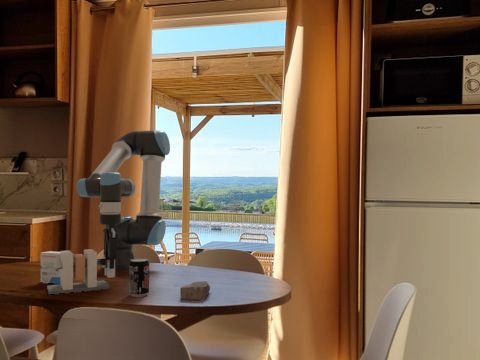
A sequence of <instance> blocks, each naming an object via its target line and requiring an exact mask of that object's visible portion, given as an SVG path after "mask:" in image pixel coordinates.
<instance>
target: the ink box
mask: <svg viewBox="0 0 480 360" xmlns="http://www.w3.org/2000/svg"><path fill="white" fill-rule="evenodd" d="M60 263H61V251H51V250H50V251H43V252H40V278H39V279H40V282H43V283H42V284H48V283H54V284H53V285H60V279H61V267H60ZM40 282H39V283H40Z"/></svg>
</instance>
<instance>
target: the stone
mask: <svg viewBox="0 0 480 360" xmlns="http://www.w3.org/2000/svg"><path fill="white" fill-rule="evenodd" d="M210 290H211V286H210V284H209V282H208V281H205V280H204V281H196V282H195V281H193V282H191V283H190V284H186V285H182V286H181V287H180V291H179V293H180V298H181V299H182V300H194V301H203V300H205V298H206V297H207V296H208V295H209V292H210ZM206 295H207V296H206Z"/></svg>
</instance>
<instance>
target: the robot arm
mask: <svg viewBox="0 0 480 360" xmlns="http://www.w3.org/2000/svg"><path fill="white" fill-rule="evenodd" d="M169 139H170V138H169V135H168V134H167V133H166V132H165V131H164V130H157V129H153V130H152V129H151V130H133V131H129V132H127V133H125V134H123V135H122V136H121V137H118V139H117V140H116V141H114V143H113V144H112V145H111V150H110V151H109V152H108V153H107V155H106V156H105V157H104V158H103V160H102V161H101V162H100V163H99V165H98V166H97V167H96V168H95V170H94V171H92V173H91V175H90V176H89V177H88V178H87V177H85V178H80V179H79V180H78V181H77V182H76V192H77V194H78V195H79V196H80V197H82V198H100V200H99V202H100V203H99V204H98V208H99V213H101V214H100V215H99V224H100V225H104V226H105V228H104V229H103V230H102V232H103V256H108V258H106V260H107V268H104V267H103V266H101V268H102V269H104V276H106V278H108V279H109V278H111V279H112V278H116V271H118V270H121V271H122V270H129V264H130V260H131V259H136V257H135V253H134V250H133V246H158V245H160V244H161V243H162V242H163V240H164V237H165V235H166V221H165V220H163V217H162V214H160V210H159V209H160V194H161V193H160V192H161V175H162V163H163V162H164V161H165V160H166V156H168V155H169V154H170V152H171V144H170V140H169ZM132 156H140V157H139V159H140V160H141V161H142V171H141V172H142V175H141V190H140V203H139V204H140V205H139V212H138V213H137V214H136V216H135V219H134V217H133V216H123V217H121V212H122V198H125V199H126V198H128V197H132V196H133V194H135V192H136V185H135V182H134V181H132V179H130V178H122V174H121V173H120V172H118V171H119V170H120V168H121V166H122V165H123V163H125V161H127V160H128V159H130V158H131V157H132ZM116 258H117V262H116V267H115V259H116Z"/></svg>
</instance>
